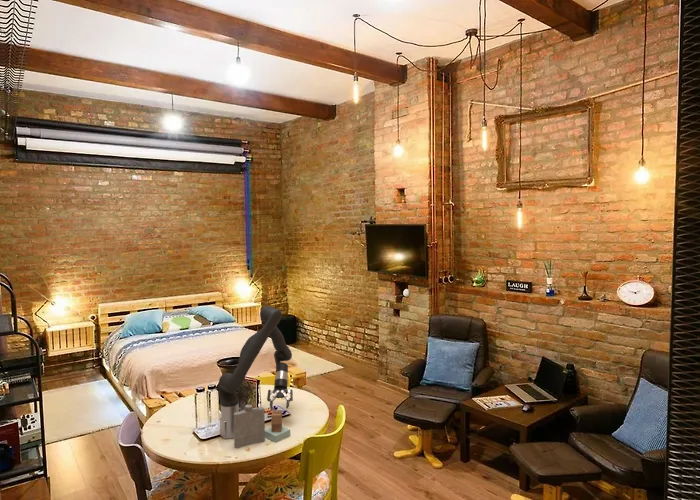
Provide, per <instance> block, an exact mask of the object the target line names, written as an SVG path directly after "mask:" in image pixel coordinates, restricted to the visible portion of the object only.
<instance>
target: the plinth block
mask: <svg viewBox="0 0 700 500" xmlns="http://www.w3.org/2000/svg"><path fill="white" fill-rule="evenodd" d="M290 437H291V429H290V428H288V427H286V426H283V425H282V430H281V432H272V427H271V426H270V427H268V428H265V439H267V440H270V441H272V442H273V443H274V444H275V443H279V442H281V441H283V440H285V439H287V438H290ZM278 441H279V442H278Z"/></svg>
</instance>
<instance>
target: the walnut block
mask: <svg viewBox="0 0 700 500" xmlns="http://www.w3.org/2000/svg"><path fill="white" fill-rule="evenodd" d="M270 418H271V420H270V421H271V426H270V427H272V432H281V430H282V426H283V411H279V410H278V411H272V412H271V417H270Z"/></svg>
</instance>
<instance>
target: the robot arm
mask: <svg viewBox="0 0 700 500" xmlns="http://www.w3.org/2000/svg"><path fill="white" fill-rule="evenodd" d="M259 315H260V317H259V318H260V320H261V321H262V323H263V327H262V328H261V329H260V330H259V331H257V332H255V333H254V334H252V335H251V336H249V337H248V339H247V340H246V341H245V343H244V344H243V346H242V347H241V350H240V353H239V359H238V363H237V366H236V367H235V369H234V371H233V372H232V373H231V372H225V373H223V374H222V375H221V376H220V377H219V379H218V397H219V400H220V418H219V433H220V434H219V435H220V436H221V437H222V438H223V439H224V440H226V439H234V413H235V412H239V410H240V407H239V404H240V402H239V397H238V395H237V393H236V392H238V391H239V390H240V389H241V386H242V384H243V383H244V380H245V378H246V376H247V375H248V372H249V370H250V369H251V366H252V365H253V363H254V362H255V360H256V359H257V357H258V355H259V353H260V352H261V350H262V348H263V347H264V345H265V343H266V342H267V340H268V339H269V337H270V338H271V342H272V345H273V348H274V350H275V351H274V353H273V358H274V362H275V376H274V385H273V390H271V389H268V391H267V396H266V401H267V402H269V408H270V409H274V408H273V407H274V401H275V400H276V399H285V401H286V403H285V404H286V405H285V406H286V409H289V407H290V402H293V401H294V398H293V397H294V396H293V393H294V392H293V389H288V382H289V372H288V371H289V364H288V363H285V362H286V361H288V362H289V361H291V359H292V357H293V354H292V350H291V349H290V348H289V346H288V345H287V344H286V341H285V337H284V335H283V333H282V332H281V330H280V329H279V328H278V326H277V325H279V323H280V322H281V320H282V318H283V317H282V315H283V313H282V311H281V309H278V308H276V307H273V306H270V305H266V306H265V305H264V306H263V307H262V309H261V310H260V314H259ZM287 394H289V395H290V398H289V397H288V395H287ZM271 395H272V397H271Z"/></svg>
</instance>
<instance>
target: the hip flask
mask: <svg viewBox="0 0 700 500" xmlns="http://www.w3.org/2000/svg"><path fill="white" fill-rule="evenodd" d="M244 408H245V409H243V410H240V411H239V412H235V413H234V438H233V442H234V444H233V445H234V446H233V447H234V449H240V448H243V447H246V446H250V445H254V444H258V443H259V444H260V443H264V442H265V441H266V438H265V430H266V427H265V426H266V424H265V423H266V422H265V407H264V406H261V407H260V406H259V407H253V405H252V404H246V405H245V406H244Z"/></svg>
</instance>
